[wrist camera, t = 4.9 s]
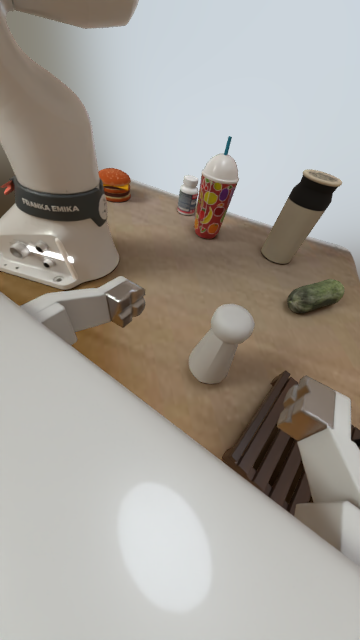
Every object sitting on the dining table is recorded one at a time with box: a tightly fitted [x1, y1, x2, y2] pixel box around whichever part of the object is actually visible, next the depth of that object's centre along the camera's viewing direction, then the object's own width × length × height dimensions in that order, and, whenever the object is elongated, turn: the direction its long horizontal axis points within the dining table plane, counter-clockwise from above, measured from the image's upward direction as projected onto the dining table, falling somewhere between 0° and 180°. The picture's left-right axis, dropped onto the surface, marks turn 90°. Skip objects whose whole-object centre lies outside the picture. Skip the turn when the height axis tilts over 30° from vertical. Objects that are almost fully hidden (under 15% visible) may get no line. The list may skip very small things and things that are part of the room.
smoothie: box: [194, 136, 239, 239], centre depth 47 cm, size 8×8×20 cm
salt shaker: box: [189, 304, 255, 384], centre depth 25 cm, size 6×6×13 cm
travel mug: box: [261, 170, 342, 264], centre depth 46 cm, size 8×8×18 cm
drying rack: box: [222, 371, 360, 516], centre depth 22 cm, size 11×14×7 cm
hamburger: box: [99, 168, 131, 202], centre depth 58 cm, size 9×10×7 cm
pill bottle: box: [177, 175, 198, 215], centre depth 57 cm, size 5×5×9 cm
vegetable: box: [287, 279, 344, 313], centre depth 41 cm, size 14×5×5 cm, turn 114°
